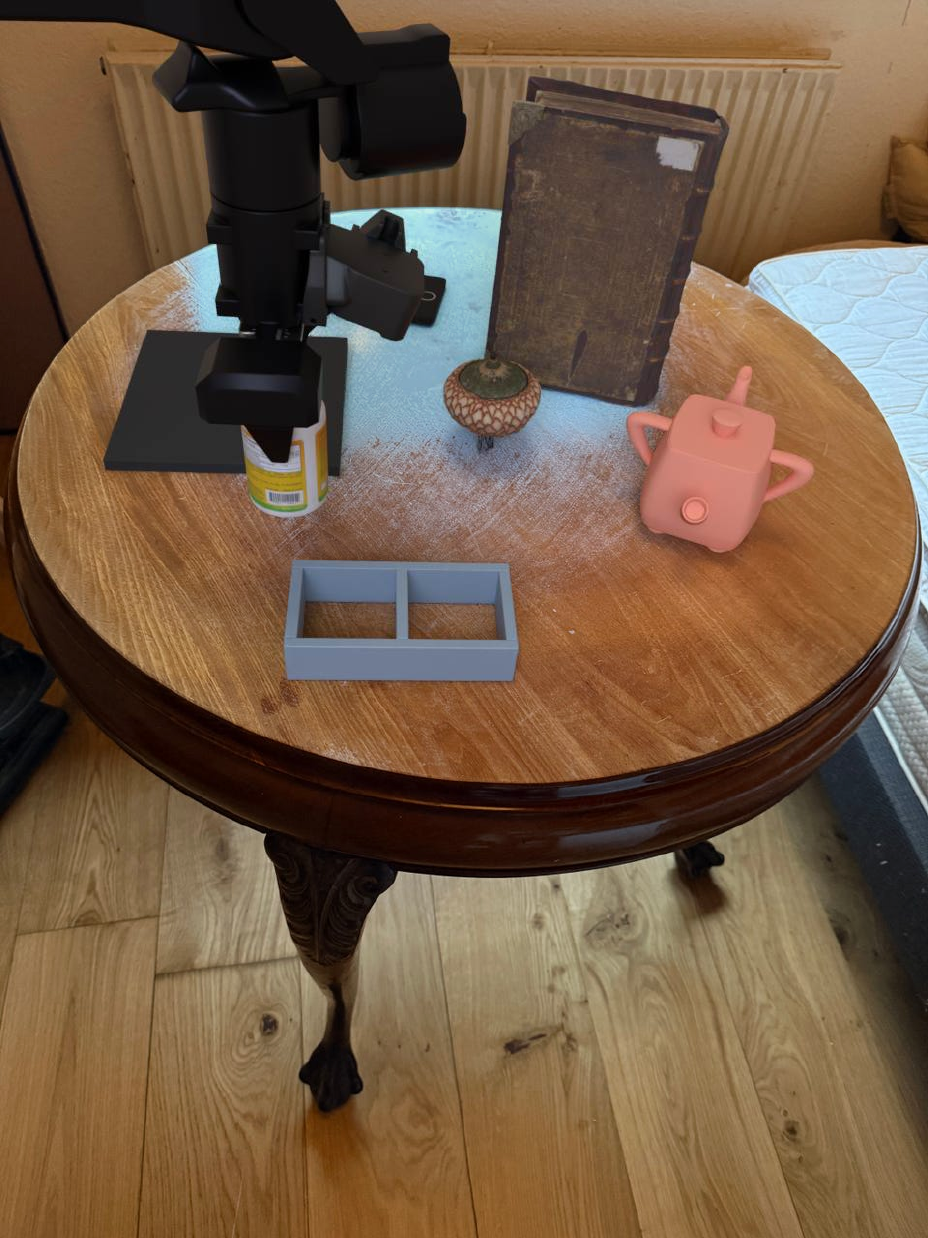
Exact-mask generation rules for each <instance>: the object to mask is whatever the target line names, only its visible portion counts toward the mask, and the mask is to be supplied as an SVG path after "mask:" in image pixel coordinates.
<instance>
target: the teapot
mask: <svg viewBox="0 0 928 1238" xmlns="http://www.w3.org/2000/svg"><path fill="white" fill-rule="evenodd" d="M753 373H754V371H753V368H752V366H750V365H744V366H742V367H741V368H740V369H739V370H738V372H737V374H736V377H735V378H734V382H733V383H732V386H731V388H730V389H729V391H728V393H727V395H726V397H725V398H724V400H722V399H718V398H714V397H712V396H711V397H710V396H707V395H703V394H698V393H695V394H691V395H690V396H688V397H687V398H686V399H685V400H684V401H683V403H682V405H681V406H680V408H679V409H678V410H677V412H676V413H675V415H674V417H673V418H669V417H667V416H664V415H661V414H659V413H658V414H657V413H654V412H650V411H643V410H636V411H633V412H630V414H628V416H627V418H626V420H625V428H626V432H627V435H628V438H629V440H630V442H631V444H632V445H633V447H634V449H635V450H636V452H637V454H638V455H639V457H640V459H641V460H642V461H643V463H644V464H645V465H646V467H647V468H646V472H645V476H644V479H643V482H642V485H641V491H640V497H639V514H640V518H641V519H640V520H641V523H643V525H644V526H646V527H647V529H648V530H649V531H651V532H652V533H654V534H667V535H670V536H673V537H675V538H679V539H682V540H685V541H688V542H692V543H694V544H698V545H702V546H705V547H706V548H707V549H709V550H710V551H711V552H715V553H720V554H721V553H726V552H731V551H732V550H734V549H736V548H737V547H738V546H739V545H740V544H741V543H742V542H743V541H744V540H745V538H746V537H747V536H748V534H749V533H750V532H751V530H752V529H753V526H754V524H755V523H756V521H757V519H758V518H759V515H760V512H761V509H762V507H763V504H764V503H766V502H769V501H773V500H774V499H778V498H780V497H782V496H785V495H787V494H790V493H792V492H794V491H796V490H799V489H800V488H802V487H803V486H805V485H806V484H807V483H808V482H809V481H810V480H811V479H812V478H813V476H814V474H815V467H814V465H813V463H812V462H811V461H809V460H808V459H806V458H804V457H802V456H800V455H797V454H794V453H790V452H787V451H783V450H779V449H775V439H776V438H775V437H776V420H775V418H774V417H773V416H772V415H770V414H768V413H765V412H762V411H759V410H757V409H753V408H750V407H747V406H746V403H747V396H748V392H749V387H750V385H751V381H752V378H753ZM645 427H649V428H653V429H658V430H661V431H664V433H663V435H662V436H661V438H660V440H659V442H658V444H657V446H656V448H655V449H654V451H653V450H652V448H651V446H650V444H649V442H648V439H647V436H646V432H645ZM773 464H776V465H780V466H783V467H785V468H787V469H790V470H791V472H790V473H789V474H788V475H787V476H786V477H785V478H784V479H782V480H780V481H779V482H777V483H775V484H773V485H772V486H769V483H770V480H771V479H770V478H771V474H772V467H773Z"/></svg>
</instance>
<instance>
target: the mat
mask: <svg viewBox="0 0 928 1238" xmlns="http://www.w3.org/2000/svg"><path fill="white" fill-rule="evenodd" d="M220 337H233V338H247V337H241V336H239V332H219V331H218V332H215V331H193V330H191V331H189V330H167V329H165V330H164V329H147V330H146V332H145V336H144V338H143V341H142V344H141V346H140V350H139V353H138V355H137V359H136V362H135V365H134V368H133V371H132V373H131V376H130V379H129V382H128V385H127V388H126V391H125V395H124V397H123V400H122V403H121V406H120V409H119V412H118V415H117V418H116V421H115V424H114V427H113V430H112V433H111V436H110V438H109V441H108V444H107V448H106V450H105V453H104V456H103V460H102V463H103V466H104V469H105V471H130V472H131V471H132V472H133V471H134V472H169V473H170V472H171V473H175V472H176V473H206V474H207V473H208V474H209V473H210V474H245V475H247V473H246V464H245V456H244V447H243V439H242V431H241V425H227V424H209V423H207V422H206V421H205V420H203V419H202V418H200V416H199V410H198V403H197V397H196V390H195V385H196V381H197V378H198V374H199V371H200V367H201V364H202V360H203V357H204V353H205V351H206V350H207V349H208V348H209V347H210V346H211V345H212V344H213V343H214V342H215V341H217V340H218V339H219V338H220ZM307 344H308V345H309V346H310V347H311V348H312V349H313V350H314V351H316V352H317V353H318V354H319V355H320V356H321V357H322V368H323V372H324V379H323V387H322V401H323V403H324V405H325V411H326V431H327V462H328V477H340V476H341V465H342V464H341V463H342V449H343V448H342V447H343V431H344V415H345V399H346V398H345V397H346V385H347V384H346V382H347V368H348V367H347V366H348V352H349V351H348V350H349V349H348V348H349V338H348V337H346V336H345V337H343V336H320V335H308V339H307Z"/></svg>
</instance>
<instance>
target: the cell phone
mask: <svg viewBox="0 0 928 1238" xmlns="http://www.w3.org/2000/svg"><path fill="white" fill-rule="evenodd" d="M446 288H447V279H446V278H444V277H440V276H435V275H429V274H428V275H426V274H425V293H424V295H423V297H422V299H421V302H420V304H419V306H418V308H417V310H416V313H415V315H414V317H413V319H412V321H411V324H417V325H423V326H428V327H431V326H433V325H434V324H435V321H436V318H437V315H438V312H439V309H440V307H441V303H442V301H443V298H444V294H445V292H446Z"/></svg>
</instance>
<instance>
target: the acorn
mask: <svg viewBox="0 0 928 1238" xmlns="http://www.w3.org/2000/svg"><path fill="white" fill-rule="evenodd" d="M490 355H491V356H490V358H488V359H484V358H477V359H471V360H469V361H466V362H463V363H462V364H460V365H458V366H457V367H455V369H453V371H451V373H449V374H448V376H447V378H446V379H445V382H444V383H443V387H442V395H443V396H442V398H443V404H444V406H445V409H446V410H447V412H448V413H449V415H450V417H451V419H453V420H454V421H455V422H456V423H457V424H458V425H460V427H462V428H464V429H466V430H467V431H469V432H470V433H471V434H474V435H476V436H477V440H476V449H477V453H478V454H486V452H488V451H490V450H492V449H494V439H495V438H505V437H507V436H509V437H510V436H512V435H515V434H518V433H519V432H520V431H521V430H522V429H524V428H525V427H526V425H528V422H530V420H531V419H532V417H534V416H535V414H536V412H537V410H538V408H539V405H540V403H541V398H542V388H541V386H540V384H539V382H538V380H537V379H536V378H535V377H534V376H533V375H532V373H531V372H530V371H529V370H527V369H526V368H524V367H523V366H521V365H520V364H518V363H516V362H513V361H510V360H504V359H499V358H496V357H497V354H496V350H493V351H492V352H491V354H490Z"/></svg>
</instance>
